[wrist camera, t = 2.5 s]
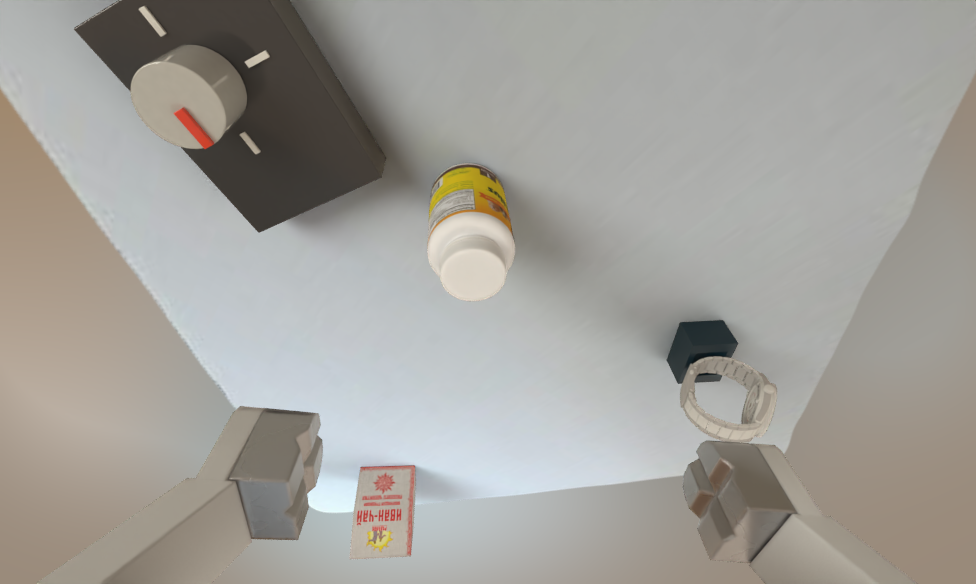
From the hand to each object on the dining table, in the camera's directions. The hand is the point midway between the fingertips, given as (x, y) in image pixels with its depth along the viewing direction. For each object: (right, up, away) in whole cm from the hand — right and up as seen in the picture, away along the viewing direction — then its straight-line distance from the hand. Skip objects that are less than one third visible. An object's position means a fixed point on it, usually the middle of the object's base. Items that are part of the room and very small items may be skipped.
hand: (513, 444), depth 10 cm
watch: (+21, -2, +38) cm, 43 cm away
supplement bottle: (-2, +11, +26) cm, 28 cm away
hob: (-15, +16, +20) cm, 30 cm away
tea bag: (-13, -20, +51) cm, 56 cm away
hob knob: (-17, +15, +17) cm, 28 cm away
